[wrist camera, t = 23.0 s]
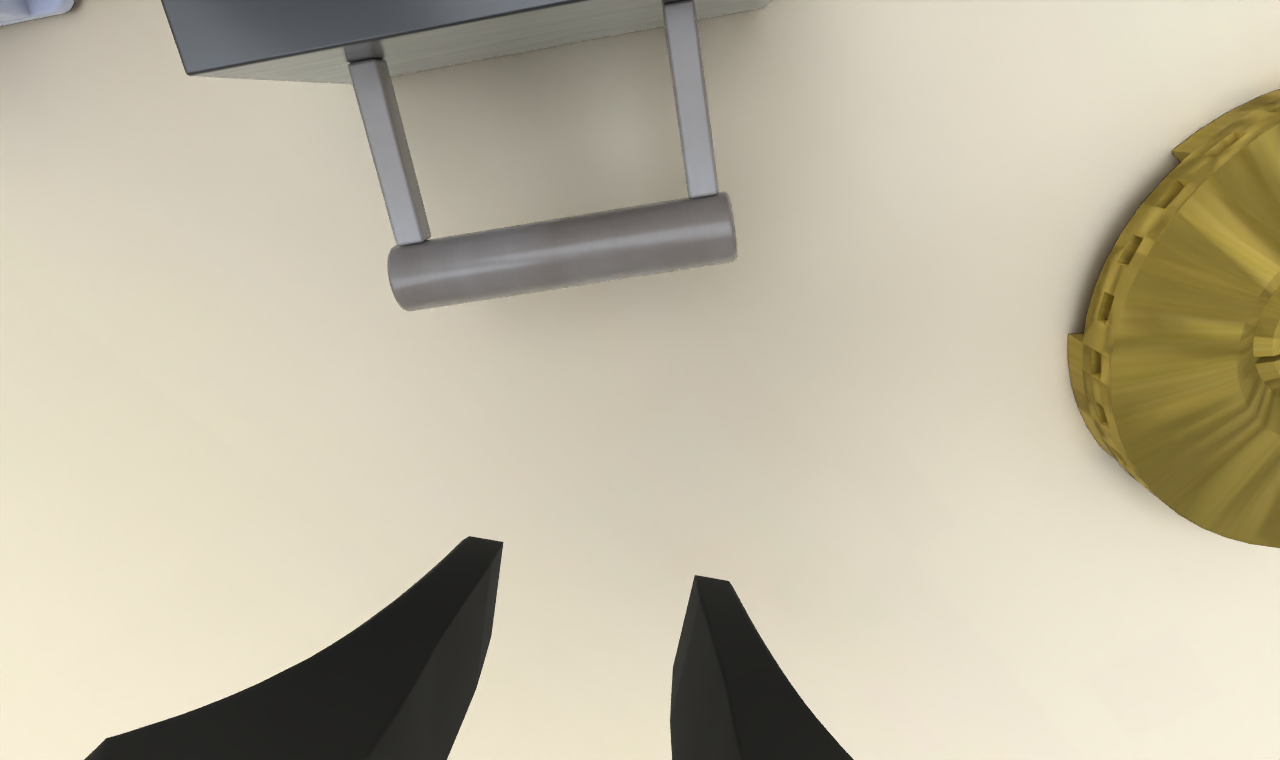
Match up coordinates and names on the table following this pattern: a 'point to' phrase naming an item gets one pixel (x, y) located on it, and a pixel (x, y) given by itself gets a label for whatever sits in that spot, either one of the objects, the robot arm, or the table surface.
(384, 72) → the drawer
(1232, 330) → the gold round disc
